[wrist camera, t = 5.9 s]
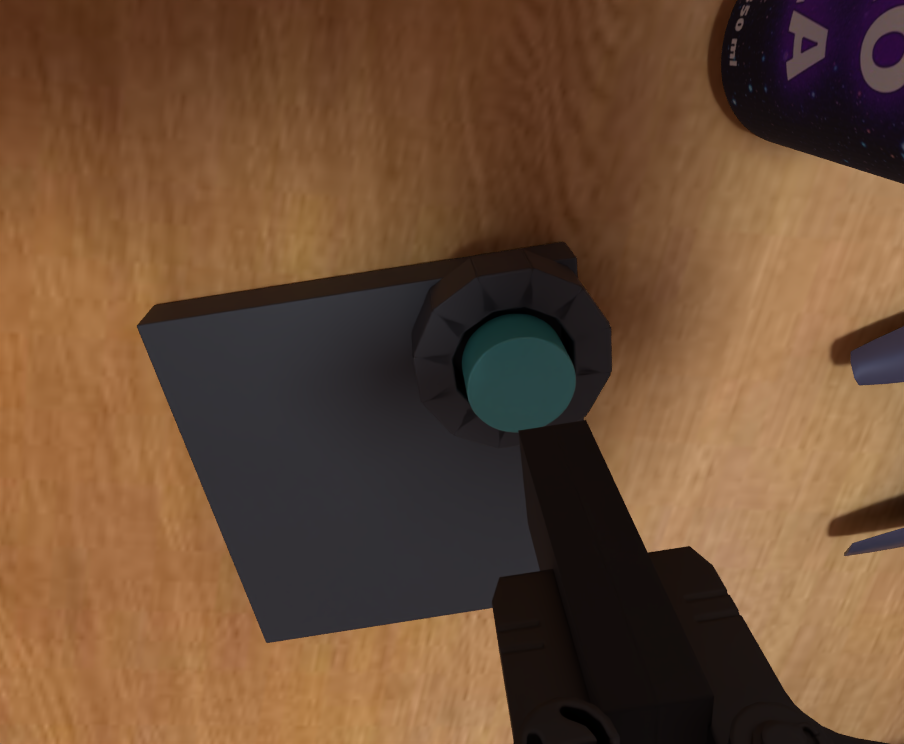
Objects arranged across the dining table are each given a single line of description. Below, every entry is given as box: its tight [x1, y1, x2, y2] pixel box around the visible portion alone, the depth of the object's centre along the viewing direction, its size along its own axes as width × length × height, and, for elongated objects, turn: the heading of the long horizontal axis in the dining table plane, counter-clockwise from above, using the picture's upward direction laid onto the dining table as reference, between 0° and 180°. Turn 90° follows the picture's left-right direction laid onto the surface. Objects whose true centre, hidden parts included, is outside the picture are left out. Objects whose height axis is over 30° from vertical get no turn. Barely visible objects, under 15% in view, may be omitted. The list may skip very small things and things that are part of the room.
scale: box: [137, 242, 612, 643], centre depth 24 cm, size 16×15×4 cm
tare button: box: [462, 314, 576, 433], centre depth 19 cm, size 3×3×2 cm
